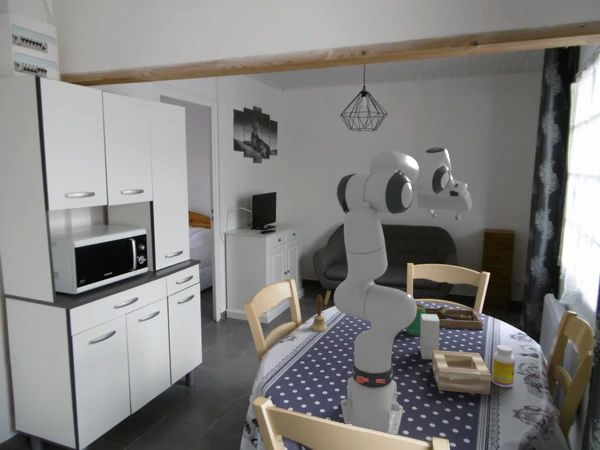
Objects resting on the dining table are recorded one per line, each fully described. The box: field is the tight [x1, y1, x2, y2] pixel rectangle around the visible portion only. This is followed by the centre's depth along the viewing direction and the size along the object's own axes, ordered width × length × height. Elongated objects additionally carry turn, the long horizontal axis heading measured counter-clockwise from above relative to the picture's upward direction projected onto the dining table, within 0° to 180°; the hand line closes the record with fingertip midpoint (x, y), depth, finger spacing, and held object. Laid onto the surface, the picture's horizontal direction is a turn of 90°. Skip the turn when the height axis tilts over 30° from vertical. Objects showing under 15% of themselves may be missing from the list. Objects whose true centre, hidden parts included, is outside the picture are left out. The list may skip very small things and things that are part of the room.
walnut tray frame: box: [424, 307, 484, 331], centre depth 198 cm, size 16×26×4 cm, turn 80°
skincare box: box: [419, 314, 440, 361], centre depth 162 cm, size 8×7×16 cm
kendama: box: [429, 306, 473, 321], centre depth 198 cm, size 6×10×20 cm
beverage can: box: [405, 303, 425, 337], centre depth 184 cm, size 8×8×12 cm
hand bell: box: [309, 294, 329, 333], centre depth 189 cm, size 8×8×16 cm
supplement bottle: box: [491, 344, 516, 388], centre depth 141 cm, size 7×7×13 cm
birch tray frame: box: [431, 349, 492, 395], centre depth 144 cm, size 16×16×7 cm
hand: (446, 218), depth 163 cm, fingers open, 8 cm apart
